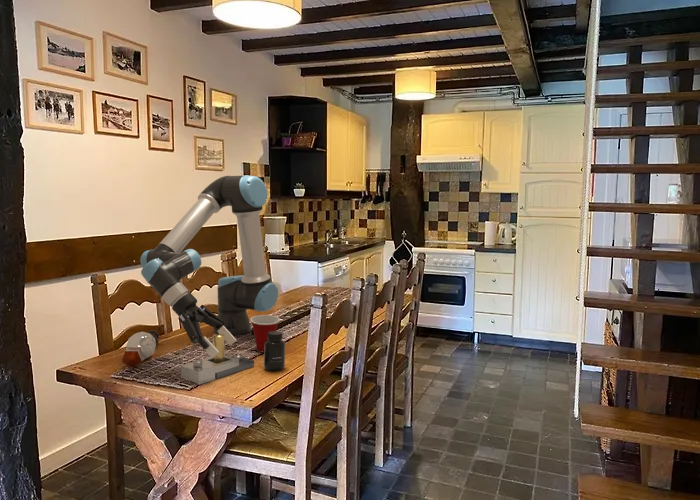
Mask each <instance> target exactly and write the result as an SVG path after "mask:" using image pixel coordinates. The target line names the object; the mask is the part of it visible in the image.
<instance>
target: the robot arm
mask: <svg viewBox="0 0 700 500" xmlns="http://www.w3.org/2000/svg"><path fill="white" fill-rule="evenodd" d="M267 200H268V190H267V186H266V184H265V183H264V181H263V180H262V179H261V178H260V177H258V176H255V175H246V174H245V175H224V176H222V177H219V178H217V179H215V180H213V181H212V182H211V183H210V184H209V185H207V186H206V187H205V188H204V189H203V190H202V191H201V192H200V193H199V194H198V196H197V200H196V202H195V203H194V204H193V205H192V207H190V209H189V210H188V211H187V212H186V213H184V215H183V217H181V218H180V220H179V221H178V222H177V223H176V224H175V226H173V228H172V229H171V230H170V231H169V232H168V233H167V234H166V236H165V237H163V239H162V240H161V242H159V243H158V245H157V246H156V247H155V248H154V249H149V250H148V249H147V250H146V251H144V252H143V253H142V254H141V256H140V266H141V267H142V268H141V271H140V274H141V276H142V278H143V279H145V281H146V282H147V284H149V285H150V286H151V287H152V289H153V290H154V292H156V293H157V294H158V296H160V297H161V298H162V299H163V300H164V303H165V304H167V305H168V306H169V307H171V310H172V311H173V312H174V313H175V314H176V315H177V316H179V317H178V318H177V320H179V322H180V323H181V325H182V327H183V329H184V331H185V333H186V334H187V337H188V339H189V341H190V342H191V343H193V344H194V345H197V344H199V345H200V347H201V348H203V349H204V350H205V352H206V353H207V354H208V355H209V357H212V358H214V357H215V356H216V355H217V354H218V353H219V351H218V350H217V349H216V348H215V347H214V346H213V342H211V341H210V340H209V338H207V337H206V336H204V335H203V332H202V330H201V326H200V323H201V324H202V323H204V324H205V325H207V326H210V327H211V328H213V332H214V333H215V334H224V342H226V343H227V344H228V345H229V346H232V345H233V344H234V343H235V342H236V341H237V339H236V338H235V337H234V336H238V335H244V334H247V333H249V332H251V330H252V323H251V321H250V318H249V316H248V312H247V310H250V311H256V312H268V311H271V309H273V307H274V306H275V305H276V303H277V301H278V297H279V288H278V286H277V285H276V283H273V282H272V280H271V275H270V274H268V273H267V270H266V269H267V268H266V261H265V253H264V245H263V235H262V226H261V219H260V218H261V217H260V213H261V212H262V211H263V206H264V205H265V204H266V203H267ZM225 207H231V213H232V214H233V215H235V217H236V220H237V221H236V222H237V228H238V237H239V245H240V253H241V260H242V269H243V275H231V276H225V277H221V278H219V279H218V282H217V314H216V313H213V311H211V310H210V309H208V308H207V307H206V306H205V305H204V304H201V305H199V306H198V305H197V304H198V299H197V298H196V297H195V296H194V295H193V293H191V292H190V291H189V289H188V288H187V287H186V286H185V285H184V284H183V283H182V282H181V281H180V280H181V279H184V278H185V277H187V276H188V275H190V274H193V273H194V272H195V271H196V270H198V269H199V268H200V267H201V266H202V258H201V256H200V254H199V252H198V251H196V250H195V249H193V248H188V249H186V250H184V249H185V248H186V247H187V245H188V244H189V243H190V241H192V239H194V237H195V236H196V235H197V233H199V231H200V230H201V229H202V228H203V226H204V225H205V224H206V223H207V222H208V221H209V219H211V217H212V216H213V215H214V214H216V213H219V212H220V211H221V210H222V209H224V208H225Z"/></svg>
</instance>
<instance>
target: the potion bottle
mask: <svg viewBox="0 0 700 500" xmlns="http://www.w3.org/2000/svg"><path fill="white" fill-rule="evenodd" d="M156 348H157V346H156V341H155V339H154V338H153V336H152V335H151V334H149V333H148V332H145V331H139V332H136V333H134V334H132V335H131V336H130V337H128V339H127V343H126V348H125V351H124V353H123V356H122V361H121V363H123V365H126V366H128V367H130V368H131V367H134V368H135V367H137V366H138V365H140V364H141V363H142V362H143V361H144V360H146V359H148V358H150V357H151V356H152V355H154V354H155V350H156Z"/></svg>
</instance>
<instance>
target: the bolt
mask: <svg viewBox="0 0 700 500" xmlns="http://www.w3.org/2000/svg"><path fill="white" fill-rule="evenodd" d="M147 333H149V334H151V335H152V336H153V338H154V339H155V341H156V347H157V346H158V344H159V338H160V333H159V332H158V331H157V330H156V329H152V330H148V331H147Z"/></svg>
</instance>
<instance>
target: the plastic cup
mask: <svg viewBox="0 0 700 500" xmlns="http://www.w3.org/2000/svg"><path fill="white" fill-rule="evenodd" d="M249 321H250V323H251V326H252V329H253V335H254V341H255V347H256V350H258V352H259V351H263V352H262V353H264V344H265V342H266V341H267V340H268V338H267V337H268V332H271V331H278V326H279V322H280V321H281V318H280V317H279V316H275V315H270V314H260V315H254V316H252V317H251V318H249Z"/></svg>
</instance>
